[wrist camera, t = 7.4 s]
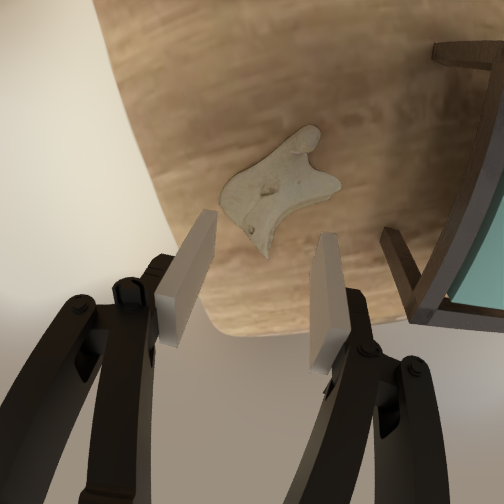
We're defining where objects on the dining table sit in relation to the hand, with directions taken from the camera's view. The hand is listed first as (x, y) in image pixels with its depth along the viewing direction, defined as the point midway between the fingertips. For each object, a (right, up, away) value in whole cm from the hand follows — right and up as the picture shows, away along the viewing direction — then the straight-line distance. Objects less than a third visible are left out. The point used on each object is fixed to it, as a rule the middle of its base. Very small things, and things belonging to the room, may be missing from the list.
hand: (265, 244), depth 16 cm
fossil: (+2, +5, +10) cm, 12 cm away
